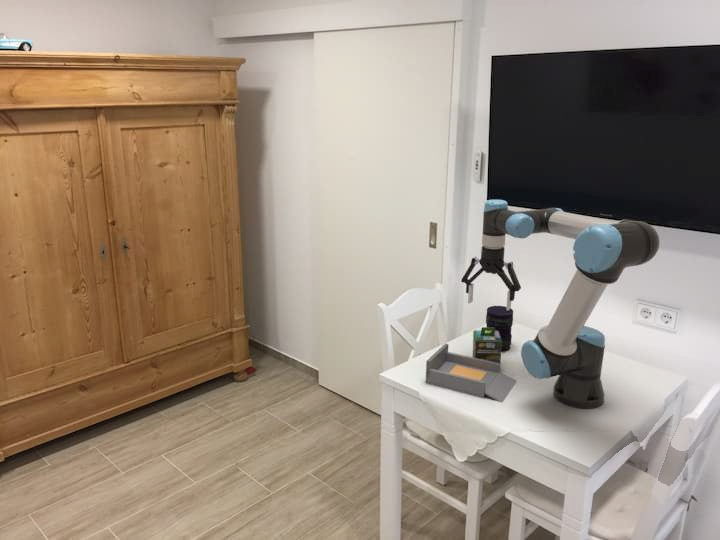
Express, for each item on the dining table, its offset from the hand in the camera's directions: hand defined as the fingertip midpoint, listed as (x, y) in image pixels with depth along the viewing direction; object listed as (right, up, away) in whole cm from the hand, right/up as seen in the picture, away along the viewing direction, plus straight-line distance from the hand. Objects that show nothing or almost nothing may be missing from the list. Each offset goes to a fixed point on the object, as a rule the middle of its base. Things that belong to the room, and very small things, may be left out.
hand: (489, 305), depth 204 cm
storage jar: (+8, -17, +21) cm, 28 cm away
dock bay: (-7, -26, -6) cm, 27 cm away
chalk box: (0, -22, +6) cm, 23 cm away
